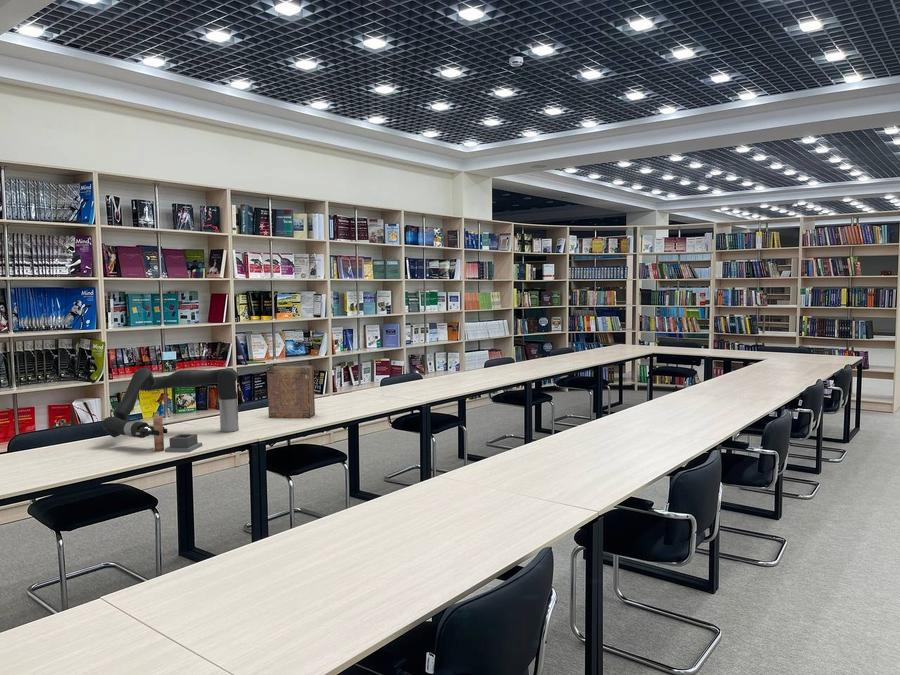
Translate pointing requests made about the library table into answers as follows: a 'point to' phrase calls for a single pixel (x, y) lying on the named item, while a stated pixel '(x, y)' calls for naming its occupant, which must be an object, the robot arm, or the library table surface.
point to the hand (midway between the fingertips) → (162, 432)
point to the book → (290, 391)
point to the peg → (159, 439)
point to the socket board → (183, 443)
